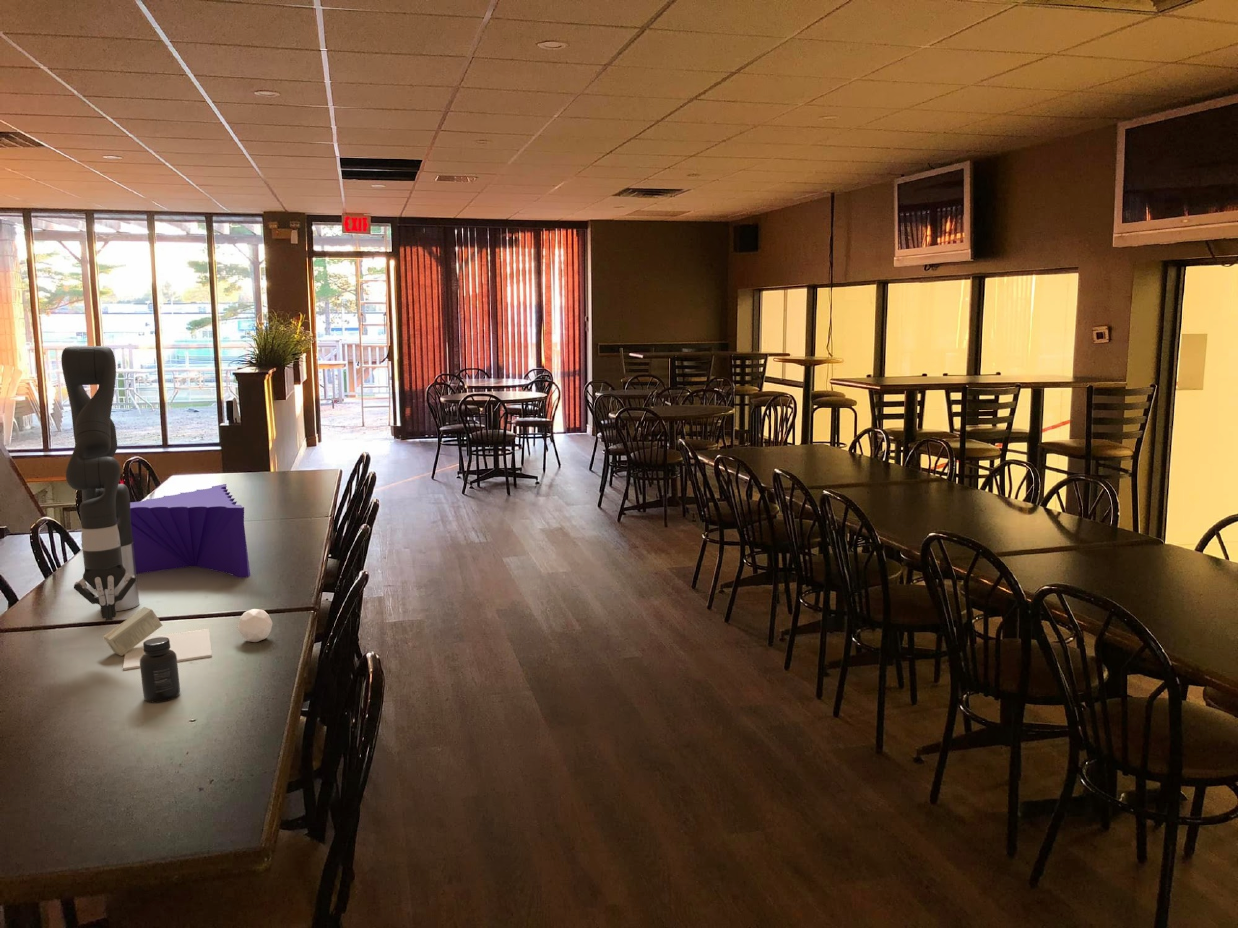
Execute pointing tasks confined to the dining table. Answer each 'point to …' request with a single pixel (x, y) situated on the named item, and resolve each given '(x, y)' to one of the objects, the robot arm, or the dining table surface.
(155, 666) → the supplement bottle
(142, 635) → the box
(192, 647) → the mat
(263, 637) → the geometric ball
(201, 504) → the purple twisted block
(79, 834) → the dining table surface
